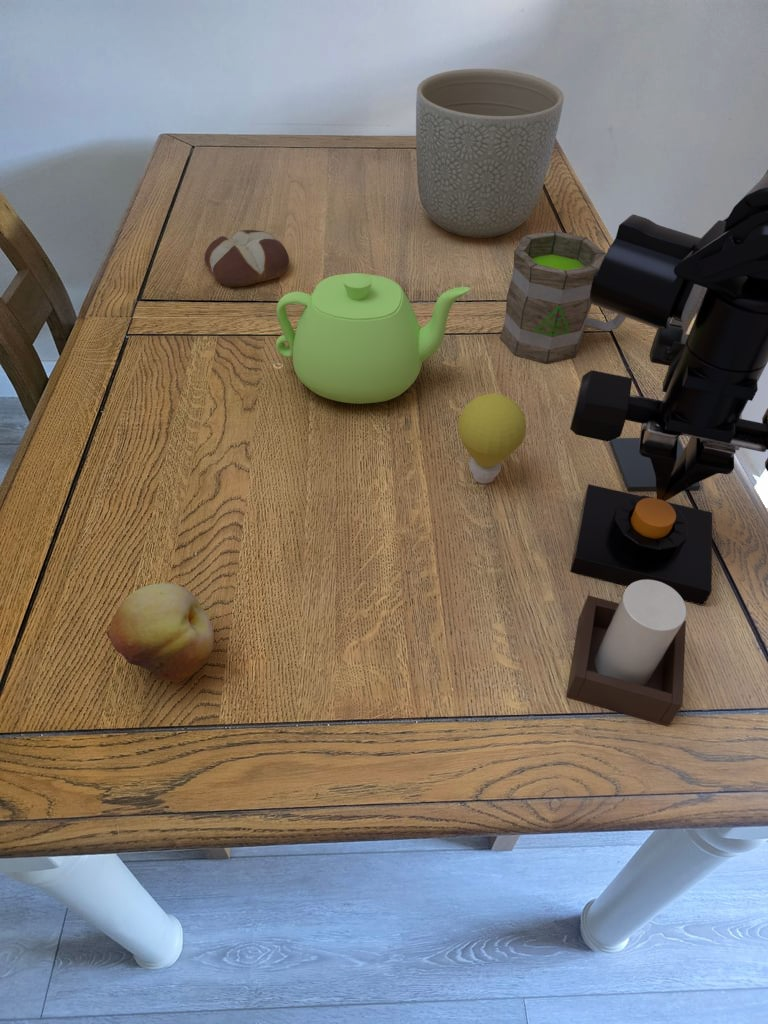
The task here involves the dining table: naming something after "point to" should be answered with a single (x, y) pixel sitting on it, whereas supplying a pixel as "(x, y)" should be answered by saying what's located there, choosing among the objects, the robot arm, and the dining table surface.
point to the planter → (484, 147)
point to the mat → (638, 465)
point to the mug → (552, 296)
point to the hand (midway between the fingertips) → (661, 496)
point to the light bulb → (491, 433)
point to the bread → (246, 258)
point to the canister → (640, 631)
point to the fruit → (163, 631)
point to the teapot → (360, 337)
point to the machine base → (643, 545)
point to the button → (653, 518)
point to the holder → (618, 695)
